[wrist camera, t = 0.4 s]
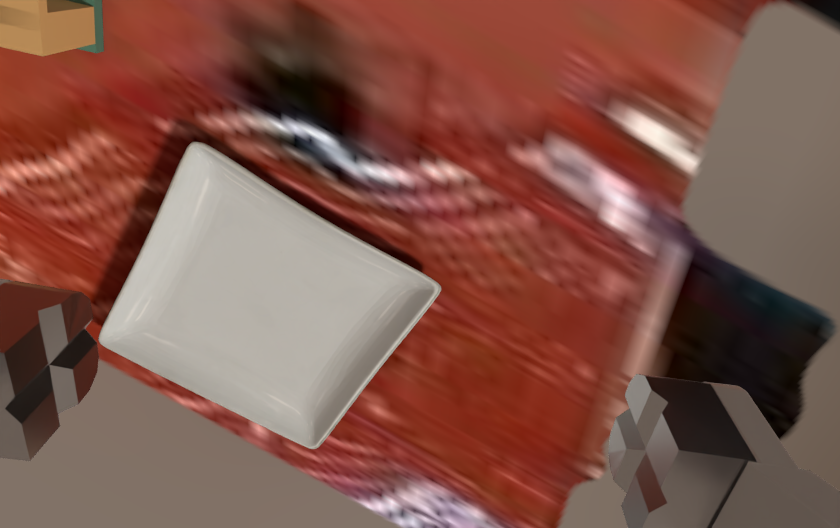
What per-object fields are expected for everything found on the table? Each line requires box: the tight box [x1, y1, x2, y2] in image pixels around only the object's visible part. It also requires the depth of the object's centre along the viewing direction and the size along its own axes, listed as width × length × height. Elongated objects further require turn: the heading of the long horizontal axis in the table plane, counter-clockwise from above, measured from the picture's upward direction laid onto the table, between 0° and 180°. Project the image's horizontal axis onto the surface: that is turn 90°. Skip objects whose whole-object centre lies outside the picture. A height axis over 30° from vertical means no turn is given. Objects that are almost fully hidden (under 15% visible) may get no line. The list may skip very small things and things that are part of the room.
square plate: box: [98, 142, 441, 449], centre depth 62 cm, size 27×27×4 cm
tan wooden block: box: [0, 0, 95, 56], centre depth 46 cm, size 6×4×7 cm
